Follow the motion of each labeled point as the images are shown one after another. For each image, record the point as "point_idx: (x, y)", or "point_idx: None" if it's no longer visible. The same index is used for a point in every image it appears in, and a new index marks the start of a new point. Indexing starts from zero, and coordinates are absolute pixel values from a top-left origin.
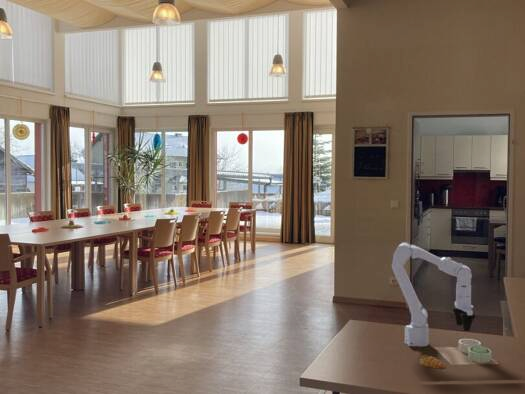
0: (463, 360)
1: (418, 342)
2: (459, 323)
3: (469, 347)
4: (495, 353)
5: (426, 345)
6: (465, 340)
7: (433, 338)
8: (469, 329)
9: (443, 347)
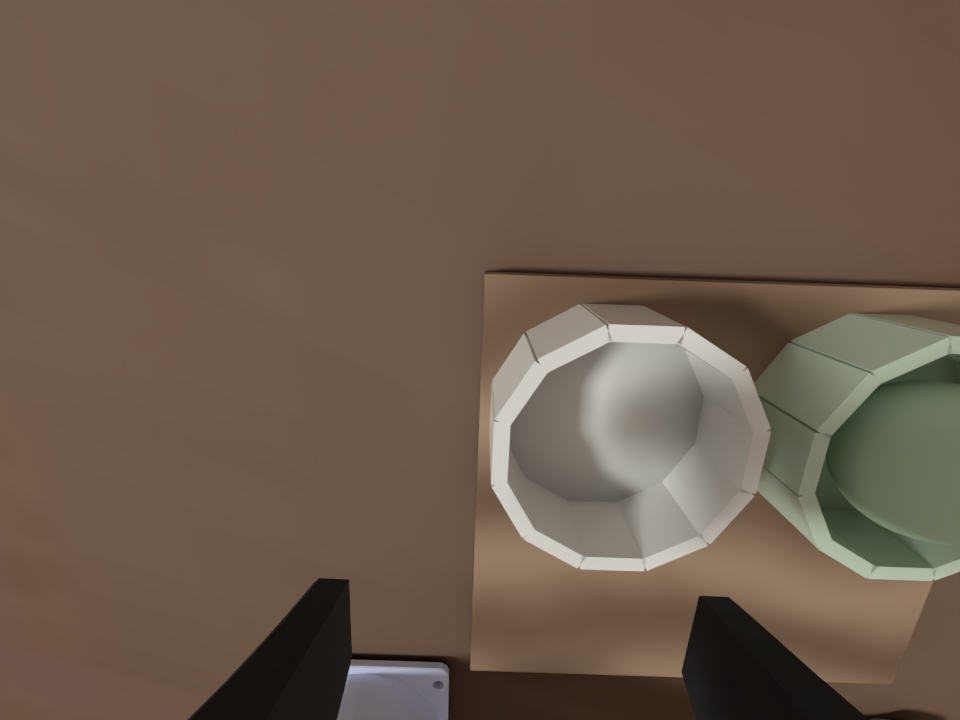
0: (836, 569)
1: None
2: (340, 663)
3: (816, 540)
4: (650, 117)
5: (425, 711)
6: (507, 454)
7: (152, 558)
8: (753, 623)
9: (480, 604)
